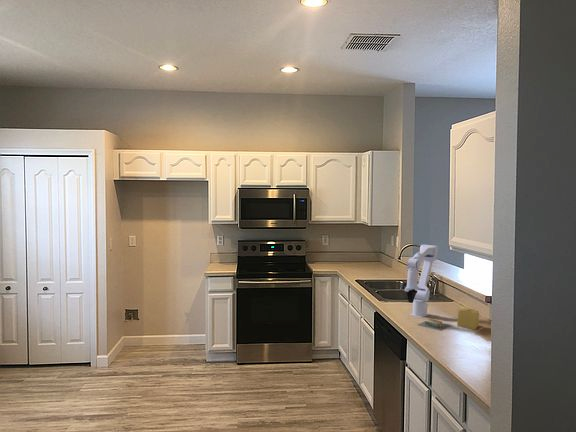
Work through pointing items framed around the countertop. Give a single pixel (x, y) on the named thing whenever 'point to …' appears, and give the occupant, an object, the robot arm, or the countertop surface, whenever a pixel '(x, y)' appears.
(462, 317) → the cheese
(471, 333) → the countertop surface
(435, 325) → the tile
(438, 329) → the mat
